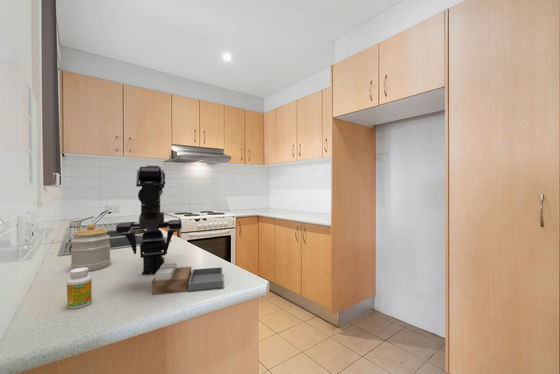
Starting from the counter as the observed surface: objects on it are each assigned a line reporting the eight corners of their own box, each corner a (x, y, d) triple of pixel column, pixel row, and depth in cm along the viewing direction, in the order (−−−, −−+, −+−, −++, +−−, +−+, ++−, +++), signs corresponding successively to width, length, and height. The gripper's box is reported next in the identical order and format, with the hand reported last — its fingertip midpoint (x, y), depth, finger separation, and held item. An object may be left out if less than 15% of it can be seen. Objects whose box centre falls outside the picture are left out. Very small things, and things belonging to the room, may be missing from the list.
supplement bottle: (72, 311, 68) (71, 274, 68) (63, 306, 70) (63, 270, 70) (95, 303, 72) (94, 268, 72) (86, 298, 75) (86, 265, 75)
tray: (188, 291, 79) (187, 283, 79) (192, 276, 93) (192, 269, 93) (222, 288, 82) (222, 280, 82) (222, 273, 95) (222, 267, 95)
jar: (86, 274, 96) (85, 227, 96) (62, 270, 100) (62, 225, 100) (118, 264, 109) (117, 222, 108) (96, 261, 113) (95, 221, 113)
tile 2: (155, 280, 78) (155, 273, 78) (158, 275, 83) (158, 269, 83) (171, 279, 79) (171, 272, 79) (173, 274, 84) (173, 268, 84)
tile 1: (159, 273, 84) (159, 267, 84) (162, 269, 88) (162, 263, 88) (174, 272, 85) (174, 266, 85) (176, 268, 89) (176, 262, 89)
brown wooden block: (152, 294, 77) (151, 281, 77) (161, 280, 89) (160, 268, 89) (187, 291, 80) (187, 278, 80) (191, 277, 91) (191, 266, 91)
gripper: (111, 206, 74) (111, 261, 73) (180, 203, 81) (181, 254, 80) (120, 205, 84) (120, 253, 84) (181, 203, 91) (181, 248, 90)
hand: (151, 252), depth 84 cm, fingers open, 9 cm apart
